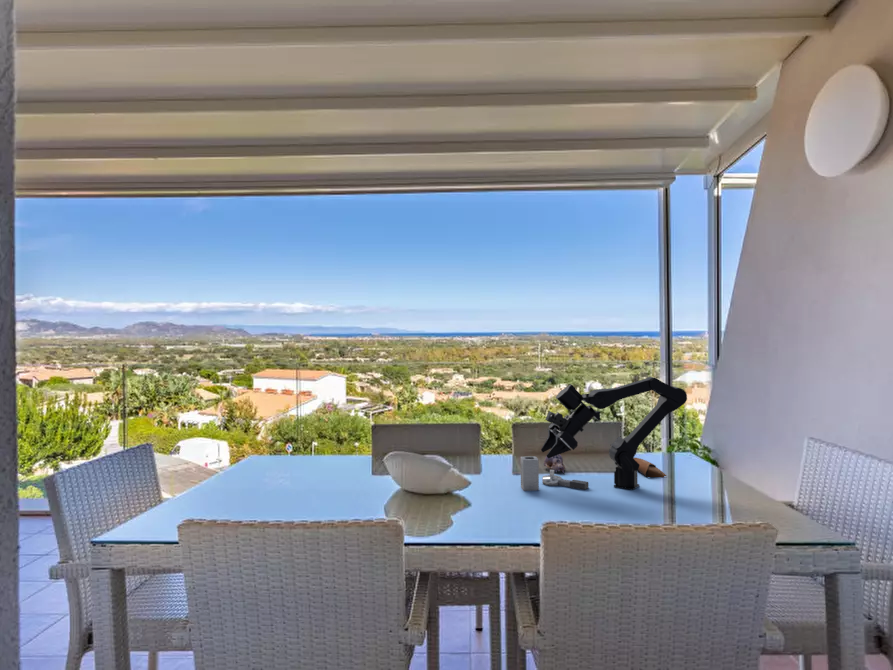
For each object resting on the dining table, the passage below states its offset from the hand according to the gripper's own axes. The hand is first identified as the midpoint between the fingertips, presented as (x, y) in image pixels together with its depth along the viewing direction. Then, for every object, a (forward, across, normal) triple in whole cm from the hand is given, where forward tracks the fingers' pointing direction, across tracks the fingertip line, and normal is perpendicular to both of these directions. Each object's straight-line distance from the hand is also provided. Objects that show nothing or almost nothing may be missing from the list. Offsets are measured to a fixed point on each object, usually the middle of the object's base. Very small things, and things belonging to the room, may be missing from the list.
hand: (544, 454), depth 196 cm
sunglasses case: (-21, -20, +38) cm, 47 cm away
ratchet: (+3, -3, +13) cm, 14 cm away
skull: (+2, -24, +14) cm, 28 cm away
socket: (+11, 0, +4) cm, 12 cm away
